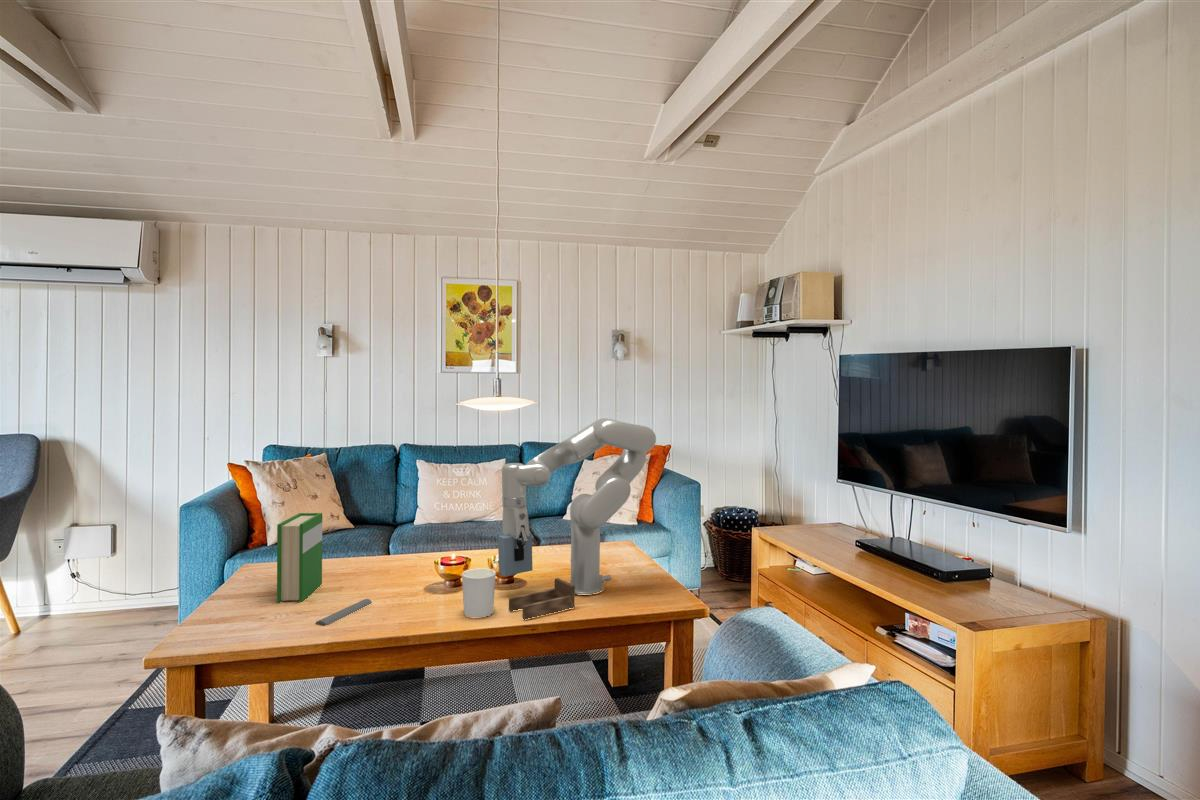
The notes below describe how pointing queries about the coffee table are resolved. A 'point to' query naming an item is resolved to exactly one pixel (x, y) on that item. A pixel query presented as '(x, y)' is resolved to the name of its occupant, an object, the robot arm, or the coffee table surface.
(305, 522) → the hardback book
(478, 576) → the grey cylinder
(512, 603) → the book rack
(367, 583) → the coffee table surface
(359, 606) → the gray half cylinder
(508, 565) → the slate-blue book
